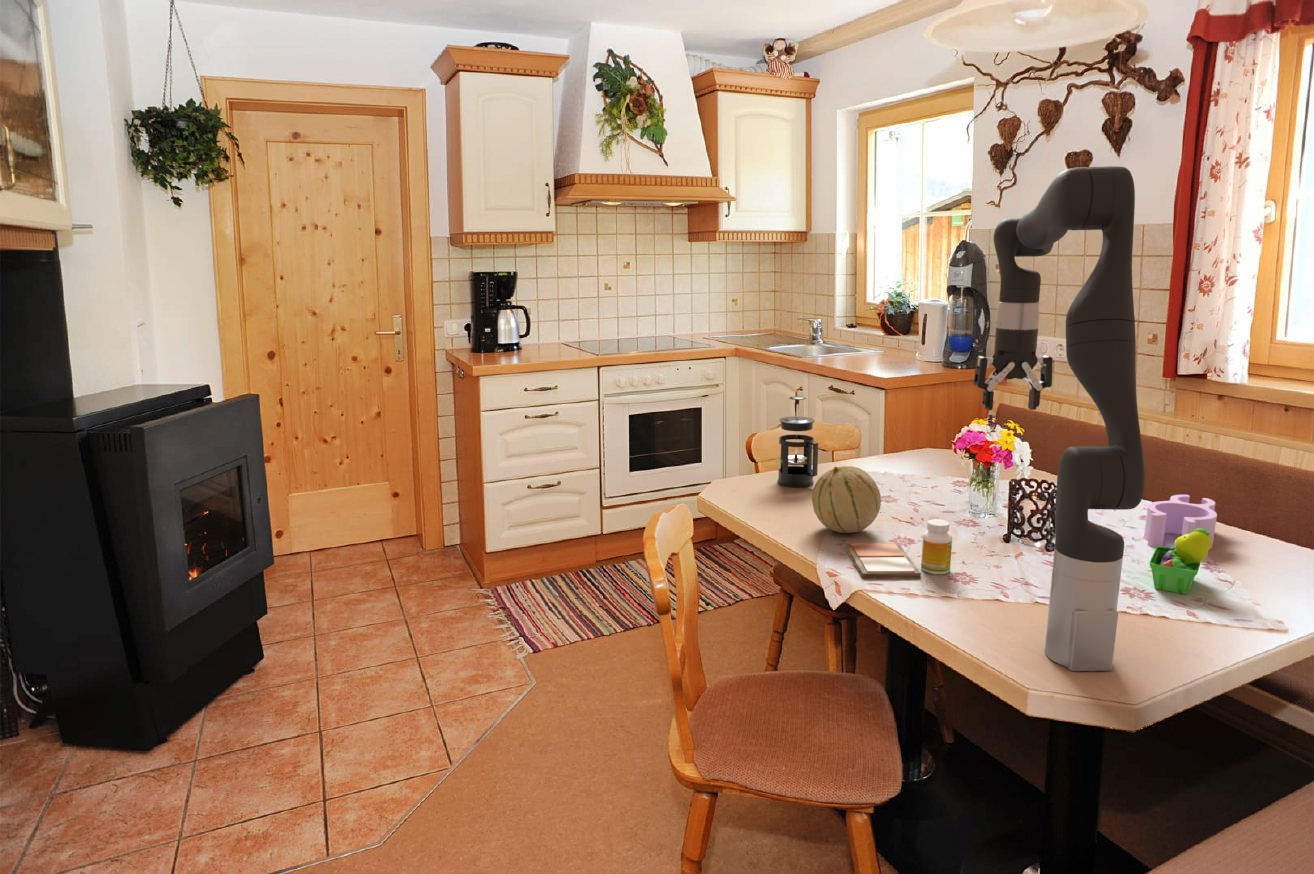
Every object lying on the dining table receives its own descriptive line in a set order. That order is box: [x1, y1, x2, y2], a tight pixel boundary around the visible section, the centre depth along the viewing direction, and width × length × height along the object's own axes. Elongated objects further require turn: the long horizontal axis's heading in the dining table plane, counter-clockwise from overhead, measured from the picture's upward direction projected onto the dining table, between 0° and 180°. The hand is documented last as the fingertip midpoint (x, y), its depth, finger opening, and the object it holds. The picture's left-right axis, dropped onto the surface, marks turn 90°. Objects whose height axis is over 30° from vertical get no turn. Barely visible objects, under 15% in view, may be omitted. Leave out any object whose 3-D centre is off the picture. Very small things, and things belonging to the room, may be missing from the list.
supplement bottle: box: [920, 518, 953, 575], centre depth 169 cm, size 5×5×10 cm
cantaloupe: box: [811, 465, 882, 534], centre depth 191 cm, size 15×15×15 cm
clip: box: [1143, 494, 1218, 550], centre depth 185 cm, size 20×12×7 cm, turn 137°
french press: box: [777, 395, 819, 489], centre depth 227 cm, size 12×9×23 cm
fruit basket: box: [1149, 528, 1212, 595], centre depth 160 cm, size 11×9×11 cm
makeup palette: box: [845, 542, 922, 579], centre depth 174 cm, size 16×11×1 cm
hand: (1010, 409), depth 170 cm, fingers open, 8 cm apart
